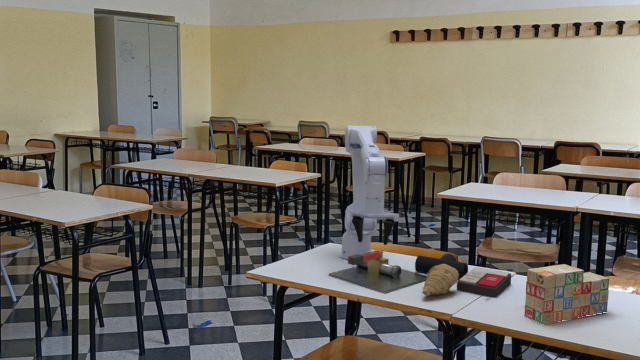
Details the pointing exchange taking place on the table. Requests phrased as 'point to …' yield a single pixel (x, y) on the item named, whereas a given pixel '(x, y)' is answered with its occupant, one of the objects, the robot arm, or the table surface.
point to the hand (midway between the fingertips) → (372, 242)
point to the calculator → (484, 282)
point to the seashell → (440, 279)
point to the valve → (379, 276)
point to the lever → (364, 257)
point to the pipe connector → (452, 260)
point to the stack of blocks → (564, 293)
